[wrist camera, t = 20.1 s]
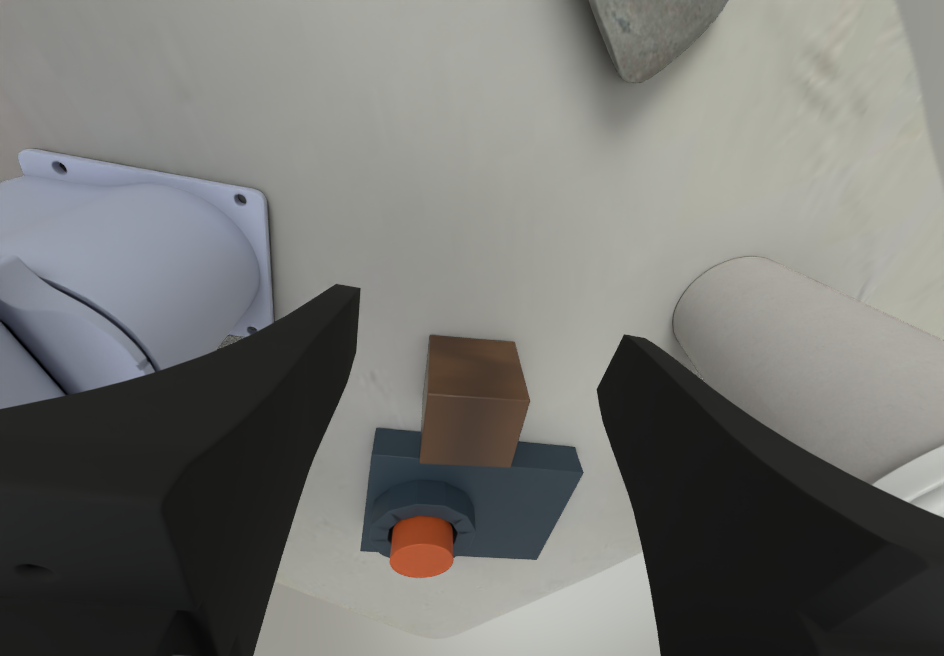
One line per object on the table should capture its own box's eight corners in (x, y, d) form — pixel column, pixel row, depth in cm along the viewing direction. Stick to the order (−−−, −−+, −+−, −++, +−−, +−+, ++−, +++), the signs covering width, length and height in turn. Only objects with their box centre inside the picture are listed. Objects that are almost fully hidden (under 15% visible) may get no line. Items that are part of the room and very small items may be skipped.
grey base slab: (364, 524, 33) (356, 576, 30) (376, 427, 27) (367, 479, 24) (531, 533, 35) (541, 583, 32) (574, 446, 30) (592, 496, 26)
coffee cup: (661, 392, 27) (851, 680, 15) (630, 274, 22) (876, 557, 10) (815, 338, 25) (1181, 611, 13) (818, 196, 20) (1418, 416, 8)
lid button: (389, 545, 28) (386, 576, 27) (396, 511, 26) (392, 542, 25) (447, 548, 29) (447, 579, 27) (457, 515, 27) (458, 546, 25)
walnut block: (422, 399, 26) (419, 464, 22) (429, 334, 23) (427, 394, 19) (499, 404, 27) (510, 468, 23) (515, 341, 24) (530, 400, 20)
